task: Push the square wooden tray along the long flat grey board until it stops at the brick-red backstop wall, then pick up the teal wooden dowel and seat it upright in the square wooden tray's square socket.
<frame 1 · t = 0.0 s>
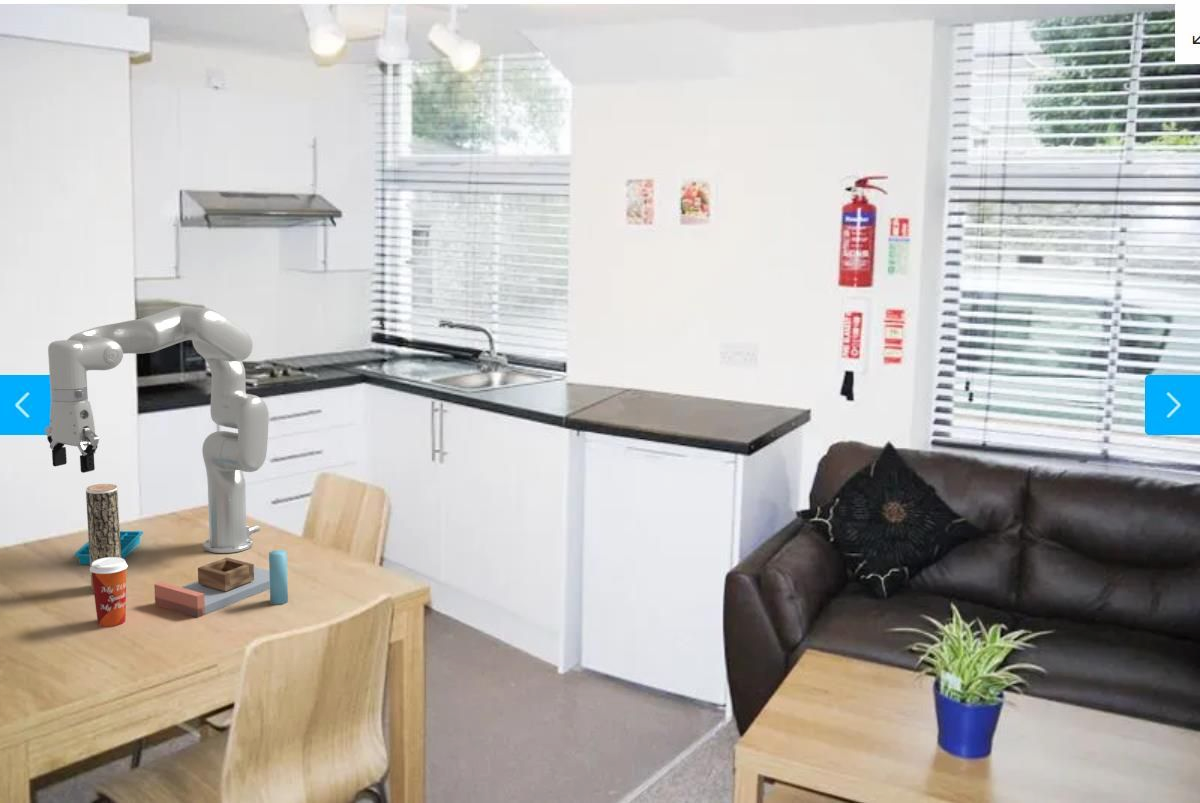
hand: (73, 468, 253), 31 cm above the table, fingers open, 9 cm apart
bark log: (107, 588, 265), on the table
ice cube tray: (110, 554, 291), on the table
paper cup: (112, 622, 246), on the table
dowel: (279, 601, 261), on the table
square wooden tray: (226, 573, 265), point 4 cm above the table, slide at 0.0 cm
long flat grey board: (221, 593, 265), on the table
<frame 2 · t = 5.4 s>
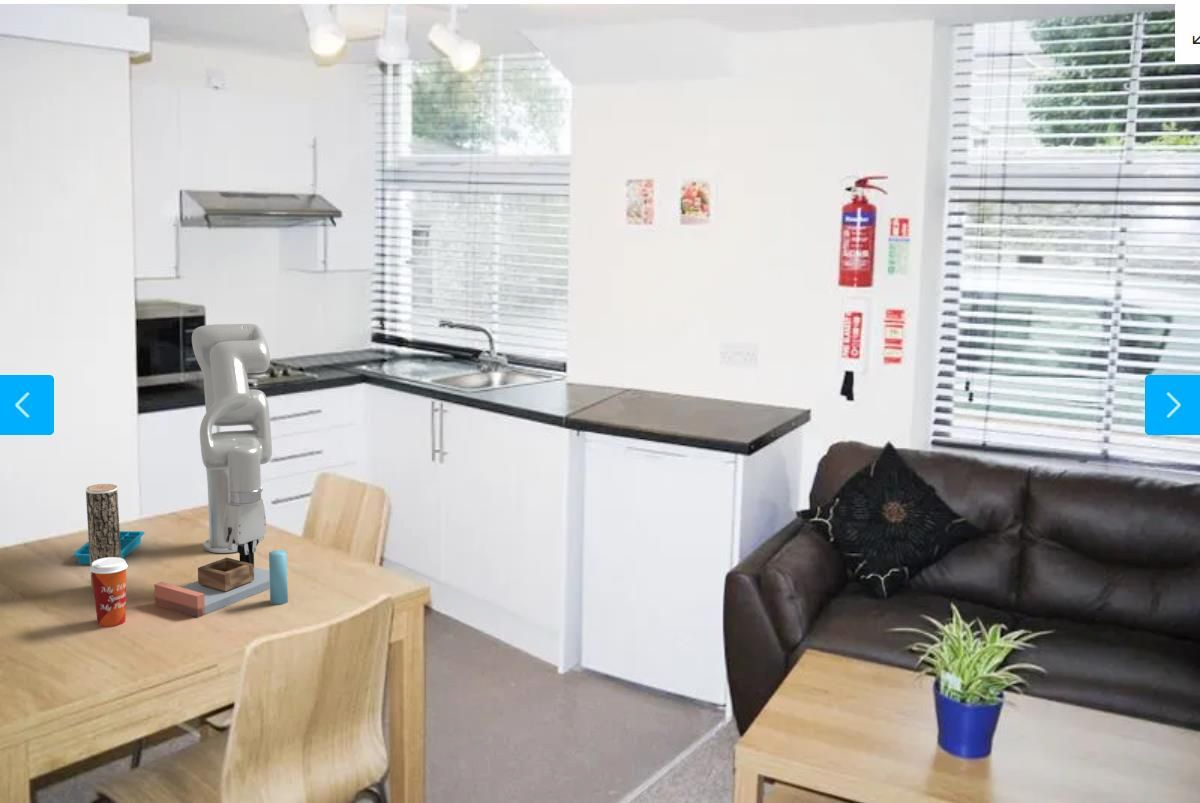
hand: (247, 568, 271), 4 cm above the table, fingers closed
square wooden tray: (226, 573, 265), point 4 cm above the table, slide at 0.0 cm, touching gripper
everything else where it was.
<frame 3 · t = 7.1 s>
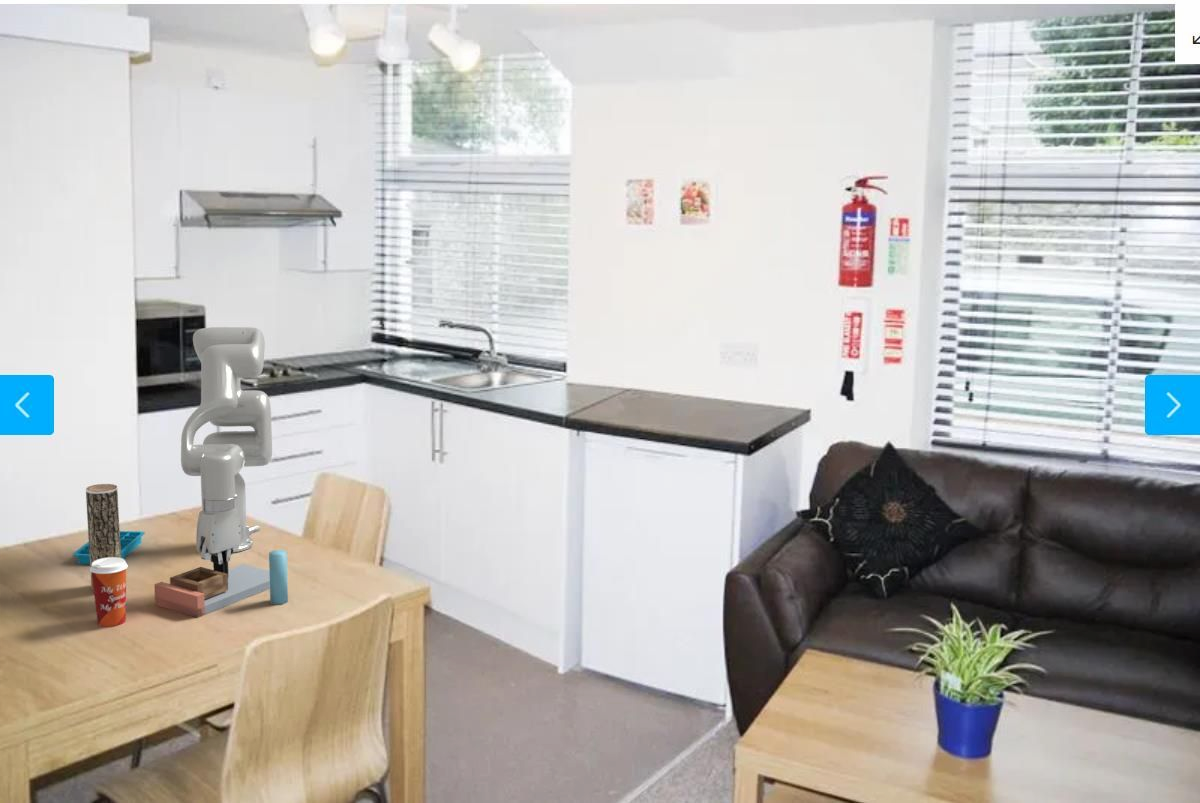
hand: (221, 577, 264), 4 cm above the table, fingers closed
square wooden tray: (199, 583, 258), point 4 cm above the table, slide at 8.2 cm, touching gripper
everything else where it was.
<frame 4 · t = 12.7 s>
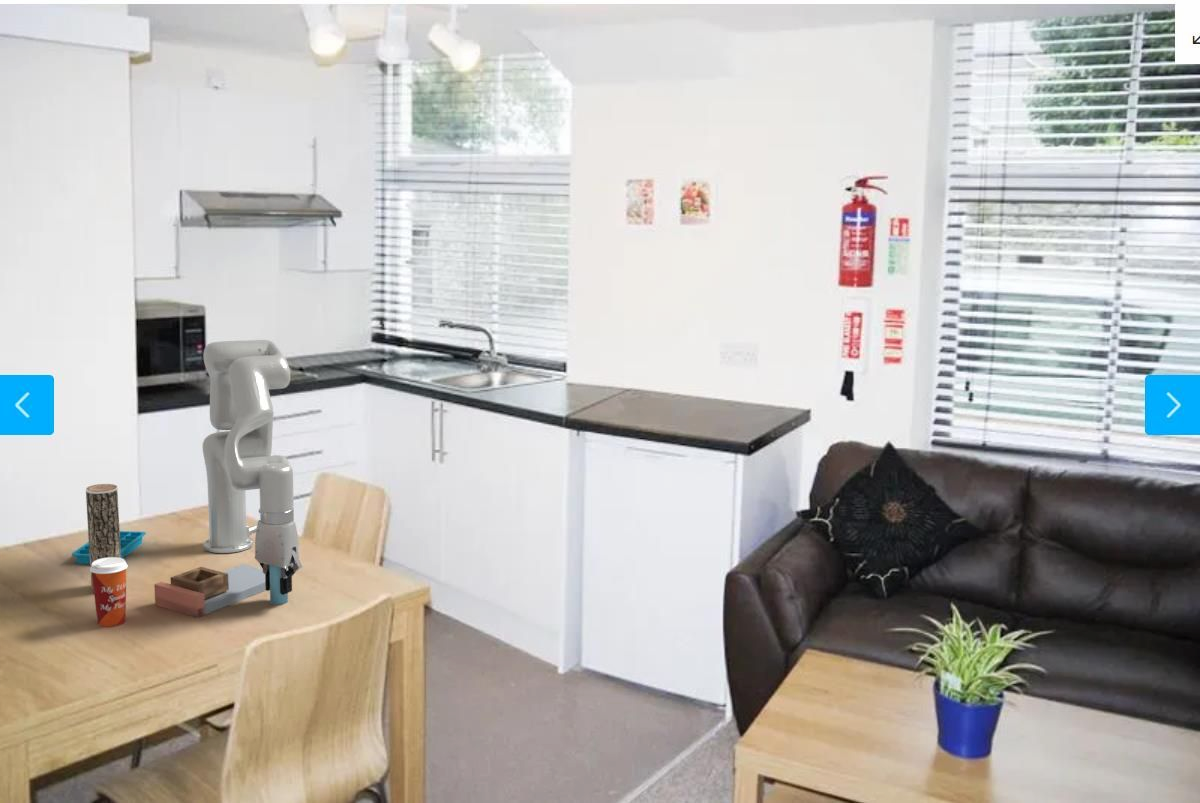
hand: (278, 590, 260), 3 cm above the table, fingers closed on dowel, 4 cm apart
dowel: (279, 601, 261), on the table, touching gripper
square wooden tray: (199, 583, 258), point 4 cm above the table, slide at 8.0 cm
everything else where it was.
when the fingers open (7 cm above the table, at t = 17.8 s): dowel stays where it is, resting on square wooden tray.
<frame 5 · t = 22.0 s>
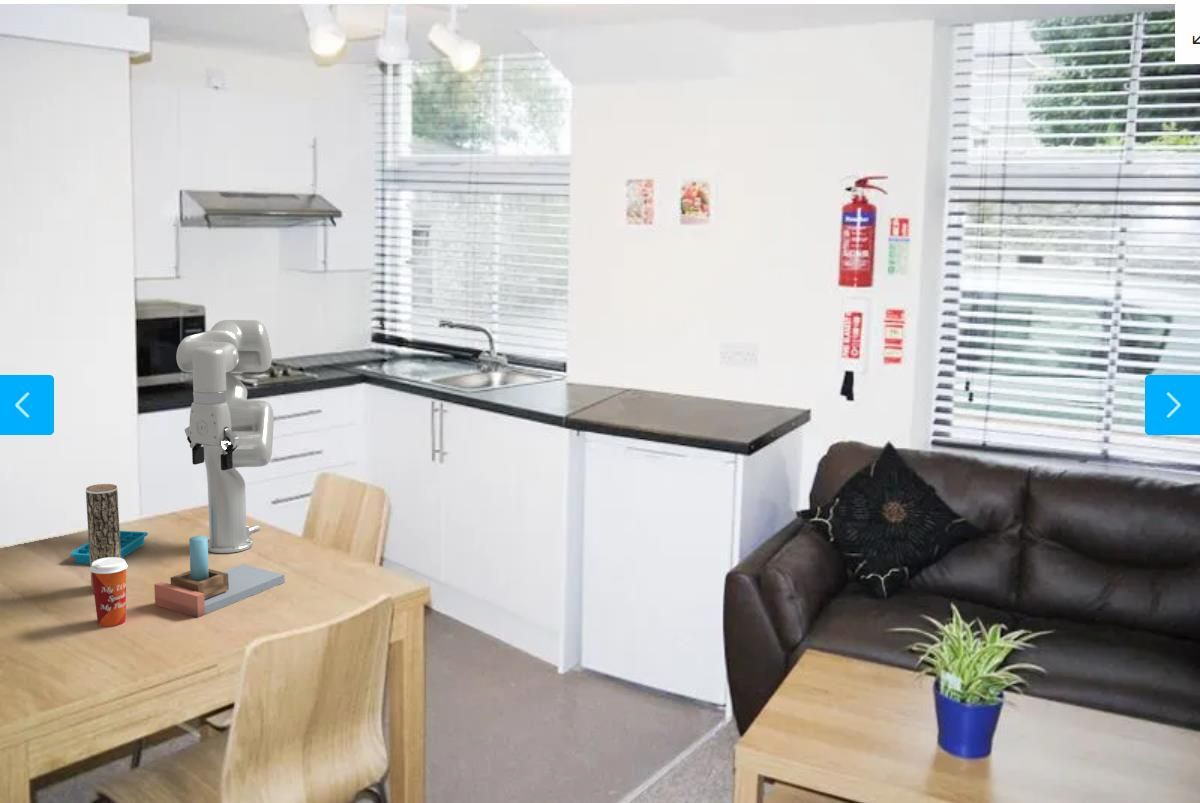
hand: (212, 466, 270), 28 cm above the table, fingers open, 9 cm apart
dowel: (199, 587, 258), point 3 cm above the table, touching square wooden tray
square wooden tray: (199, 583, 258), point 4 cm above the table, slide at 8.0 cm, touching dowel
everything else where it was.
at the end: square wooden tray slide at 8.0 cm; dowel 0.0 cm off-centre on the square wooden tray, point 1.0 cm above the square wooden tray's base; dowel tilted 1° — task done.
